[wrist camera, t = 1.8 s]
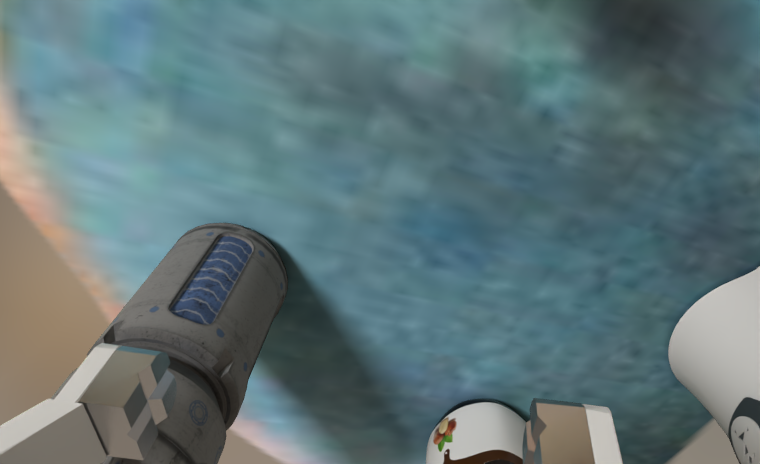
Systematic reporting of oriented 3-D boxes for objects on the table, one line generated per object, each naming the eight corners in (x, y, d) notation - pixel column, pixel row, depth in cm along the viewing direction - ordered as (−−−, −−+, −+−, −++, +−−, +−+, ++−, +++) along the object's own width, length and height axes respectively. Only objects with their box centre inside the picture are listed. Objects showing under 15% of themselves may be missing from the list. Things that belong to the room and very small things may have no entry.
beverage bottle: (162, 308, 52) (-38, 591, 30) (191, 190, 45) (-37, 442, 24) (266, 346, 53) (145, 645, 31) (309, 235, 46) (194, 517, 25)
